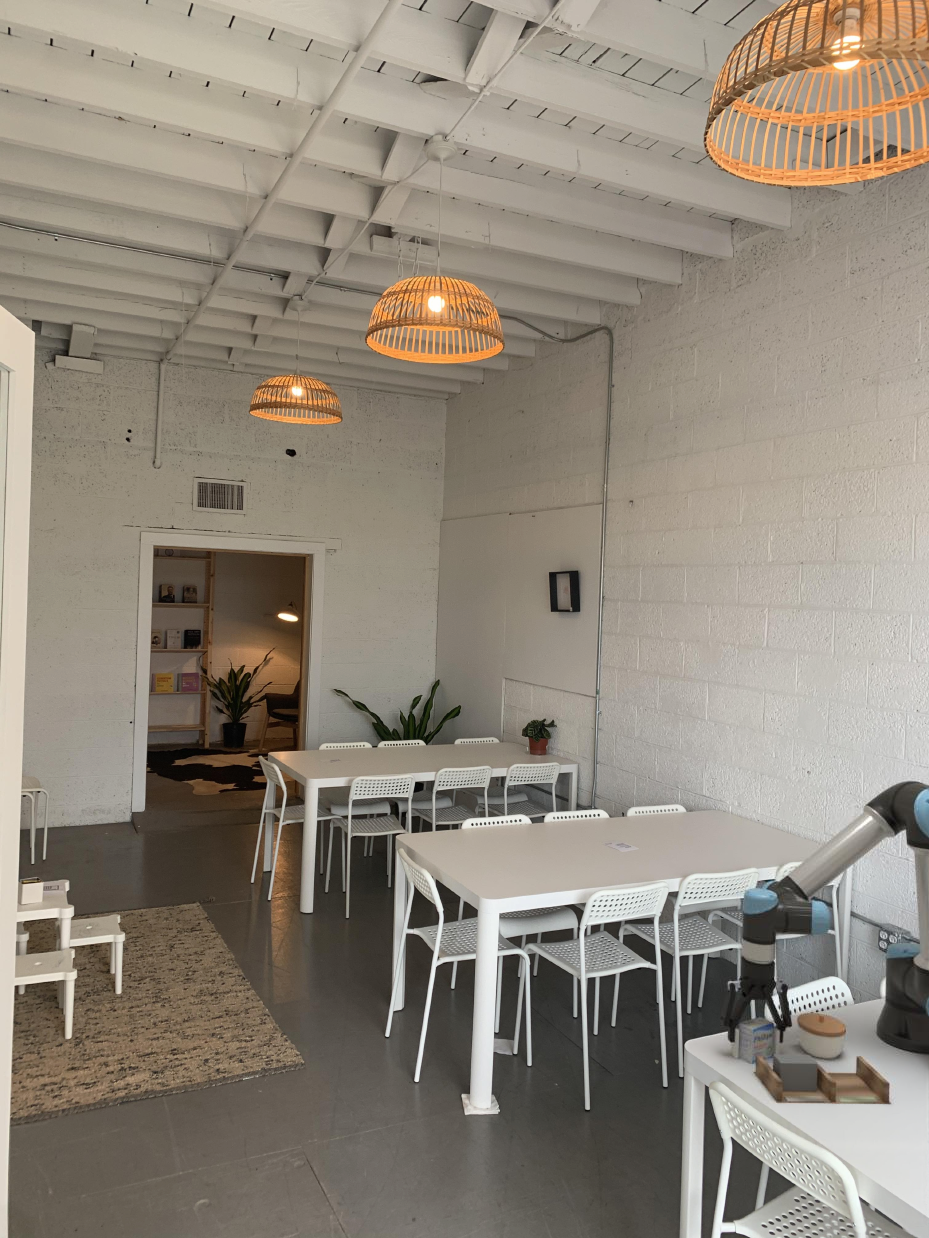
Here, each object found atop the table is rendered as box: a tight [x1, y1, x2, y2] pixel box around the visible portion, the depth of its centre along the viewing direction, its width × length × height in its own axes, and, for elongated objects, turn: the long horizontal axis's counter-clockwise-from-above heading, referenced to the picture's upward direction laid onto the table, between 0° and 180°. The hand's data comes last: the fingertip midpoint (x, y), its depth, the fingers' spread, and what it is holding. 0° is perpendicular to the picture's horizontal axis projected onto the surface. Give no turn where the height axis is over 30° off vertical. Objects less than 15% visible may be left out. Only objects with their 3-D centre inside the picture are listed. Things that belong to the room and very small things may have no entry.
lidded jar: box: [796, 1012, 847, 1060], centre depth 209 cm, size 11×11×9 cm
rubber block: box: [772, 1053, 818, 1092], centre depth 191 cm, size 8×4×6 cm, turn 93°
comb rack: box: [753, 1055, 892, 1105], centre depth 191 cm, size 13×24×5 cm, turn 93°
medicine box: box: [737, 1016, 775, 1065], centre depth 205 cm, size 8×4×9 cm, turn 124°
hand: (754, 1055), depth 205 cm, fingers closed on medicine box, 9 cm apart
